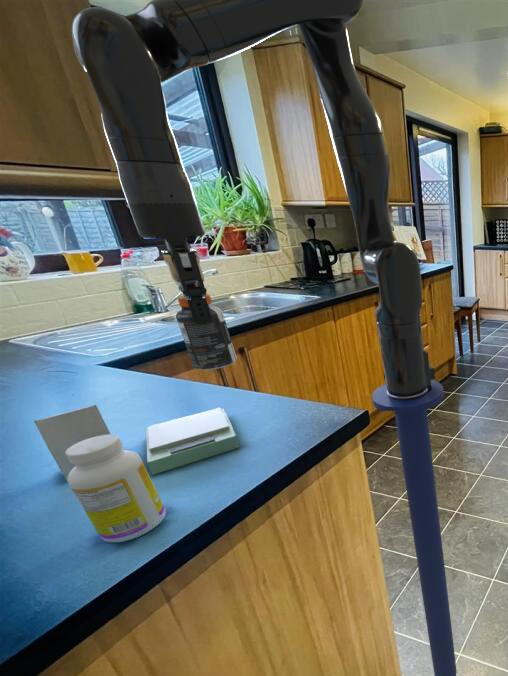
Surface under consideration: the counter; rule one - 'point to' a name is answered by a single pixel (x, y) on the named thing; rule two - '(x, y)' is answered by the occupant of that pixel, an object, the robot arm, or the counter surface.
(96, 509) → the supplement bottle
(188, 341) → the pill bottle
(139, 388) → the counter surface
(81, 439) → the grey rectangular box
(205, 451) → the scale
